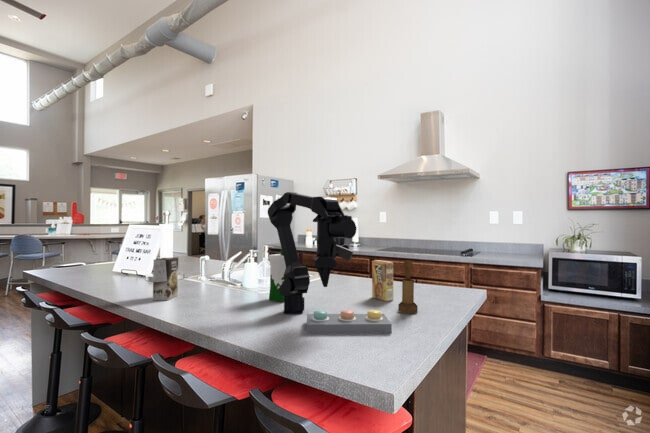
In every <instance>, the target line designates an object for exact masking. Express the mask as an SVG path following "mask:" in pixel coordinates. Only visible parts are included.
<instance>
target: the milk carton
mask: <svg viewBox="0 0 650 433" xmlns="http://www.w3.org/2000/svg"><path fill="white" fill-rule="evenodd" d="M268 260H269V269H270V270H269V271H270V273H269V274H270V278H269V279H270V280H269V282H270V284H269V297H268V300H269V301H274V302H279V303H284V295H281V294H280V292H279V288H280V286H281V285H282V283H283V282H284V272H285V269H286V264H285V260H284V256H283V252H282V249H280V253H275V254H268Z"/></svg>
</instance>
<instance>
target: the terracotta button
mask: <svg viewBox="0 0 650 433" xmlns="http://www.w3.org/2000/svg"><path fill="white" fill-rule="evenodd" d="M340 314H341V318H342V319H353V318H354V314H355V311H354V310H349V309H343V310H341V311H340Z"/></svg>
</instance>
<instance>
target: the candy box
mask: <svg viewBox="0 0 650 433" xmlns="http://www.w3.org/2000/svg"><path fill="white" fill-rule="evenodd" d="M371 286H372V287H371V288H372V289H371V297H372V298H375V299H376V300H377V299H378V300H381V301H385V302H389V301H393V300H394V297H395V296H394V262H393V261H388V260H381V259H380V260H379V259H378V260H377V259H376V260H375V259H374V260H372V261H371Z"/></svg>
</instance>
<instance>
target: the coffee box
mask: <svg viewBox="0 0 650 433" xmlns="http://www.w3.org/2000/svg"><path fill="white" fill-rule="evenodd" d="M152 270H153V273H152V274H153V275H152V276H153V278H152V301H170V300H172V299H174V298H177V297H178V296H179V257H161V258H155V259H153V269H152Z"/></svg>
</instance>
